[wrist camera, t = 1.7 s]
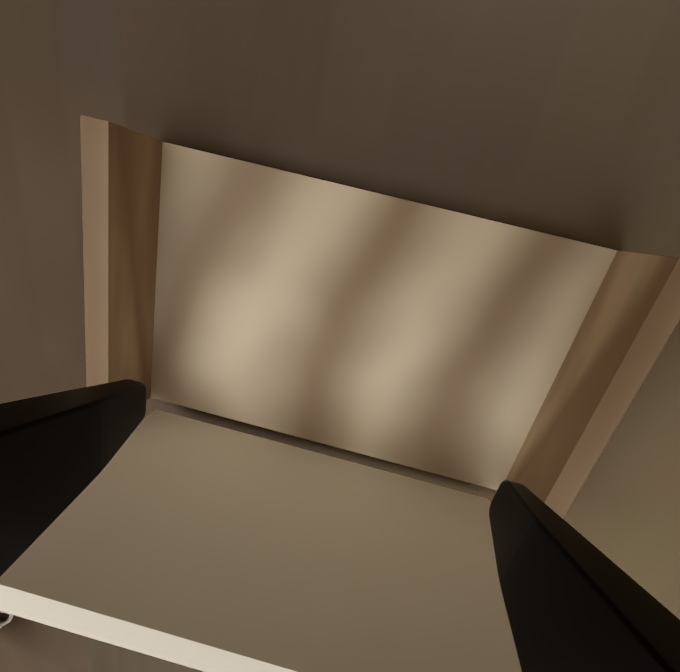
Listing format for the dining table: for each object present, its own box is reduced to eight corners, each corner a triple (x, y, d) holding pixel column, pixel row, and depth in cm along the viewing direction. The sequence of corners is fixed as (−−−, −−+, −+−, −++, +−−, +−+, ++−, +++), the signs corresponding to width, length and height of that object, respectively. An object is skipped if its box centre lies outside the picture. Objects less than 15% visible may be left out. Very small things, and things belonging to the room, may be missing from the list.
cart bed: (622, 254, 15) (711, 265, 11) (510, 479, 19) (545, 548, 15) (157, 142, 15) (79, 114, 11) (147, 382, 20) (87, 423, 16)
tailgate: (489, 498, 18) (590, 758, 9) (477, 523, 18) (562, 789, 10) (155, 408, 18) (-43, 571, 10) (153, 435, 19) (-35, 611, 10)
